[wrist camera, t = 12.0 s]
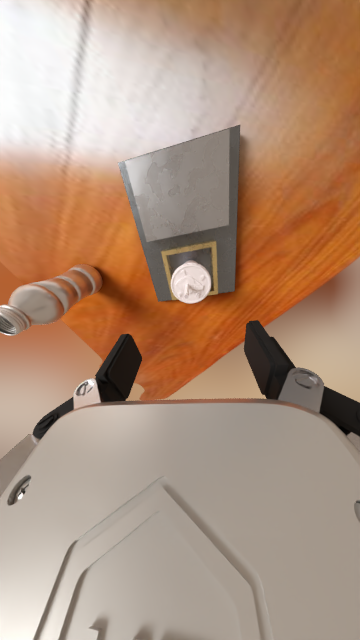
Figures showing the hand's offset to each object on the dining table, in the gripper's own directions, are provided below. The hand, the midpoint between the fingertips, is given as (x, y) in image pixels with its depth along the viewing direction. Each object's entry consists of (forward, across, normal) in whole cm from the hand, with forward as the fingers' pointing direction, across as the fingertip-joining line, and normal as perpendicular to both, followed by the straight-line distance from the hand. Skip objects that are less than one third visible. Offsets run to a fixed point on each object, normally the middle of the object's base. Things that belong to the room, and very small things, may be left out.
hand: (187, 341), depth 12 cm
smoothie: (+22, 0, 0) cm, 23 cm away
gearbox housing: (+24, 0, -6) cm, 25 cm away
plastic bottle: (+24, +24, -2) cm, 34 cm away
